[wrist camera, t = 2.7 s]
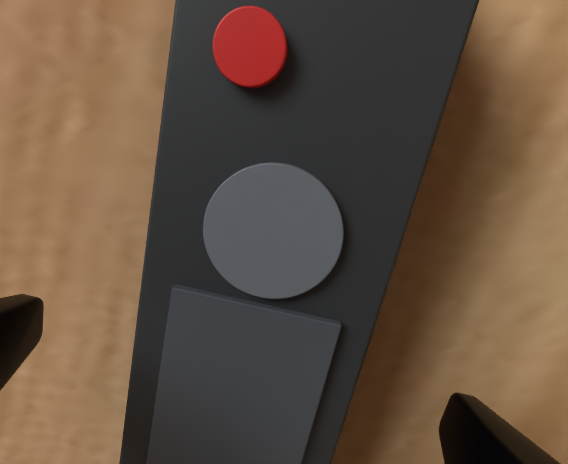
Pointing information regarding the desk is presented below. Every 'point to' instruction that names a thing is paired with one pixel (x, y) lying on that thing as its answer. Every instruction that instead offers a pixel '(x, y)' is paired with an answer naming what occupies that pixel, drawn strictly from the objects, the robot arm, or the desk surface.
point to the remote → (279, 218)
